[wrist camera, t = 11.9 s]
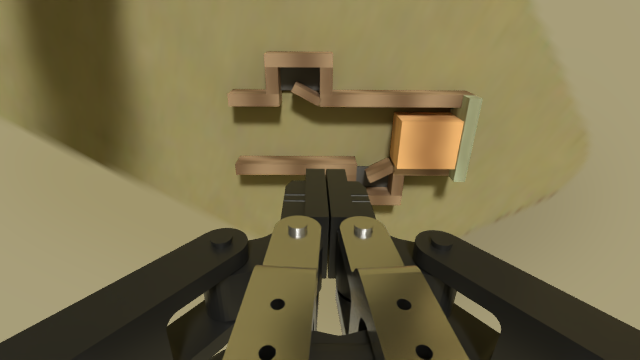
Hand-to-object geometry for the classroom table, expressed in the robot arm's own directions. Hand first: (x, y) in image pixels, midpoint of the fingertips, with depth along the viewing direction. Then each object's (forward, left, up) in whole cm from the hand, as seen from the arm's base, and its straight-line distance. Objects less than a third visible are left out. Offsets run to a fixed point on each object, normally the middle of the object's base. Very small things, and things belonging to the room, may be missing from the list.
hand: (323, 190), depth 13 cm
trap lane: (+3, -5, -24) cm, 24 cm away
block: (+11, -5, -24) cm, 27 cm away
